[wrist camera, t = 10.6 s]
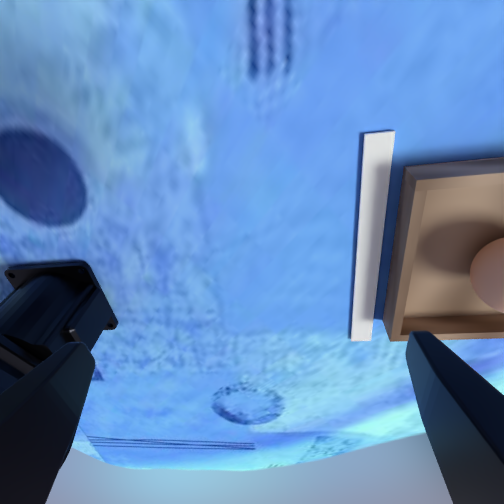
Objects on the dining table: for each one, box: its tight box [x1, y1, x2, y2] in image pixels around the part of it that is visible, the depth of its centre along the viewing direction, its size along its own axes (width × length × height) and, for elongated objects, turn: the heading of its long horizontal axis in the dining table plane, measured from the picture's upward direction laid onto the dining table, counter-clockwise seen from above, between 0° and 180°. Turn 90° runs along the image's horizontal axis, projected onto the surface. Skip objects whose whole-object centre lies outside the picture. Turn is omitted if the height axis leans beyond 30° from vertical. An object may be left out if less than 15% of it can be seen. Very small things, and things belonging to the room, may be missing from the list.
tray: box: [383, 157, 504, 341], centre depth 20 cm, size 12×12×2 cm
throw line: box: [351, 130, 395, 341], centre depth 21 cm, size 2×16×1 cm, turn 8°
